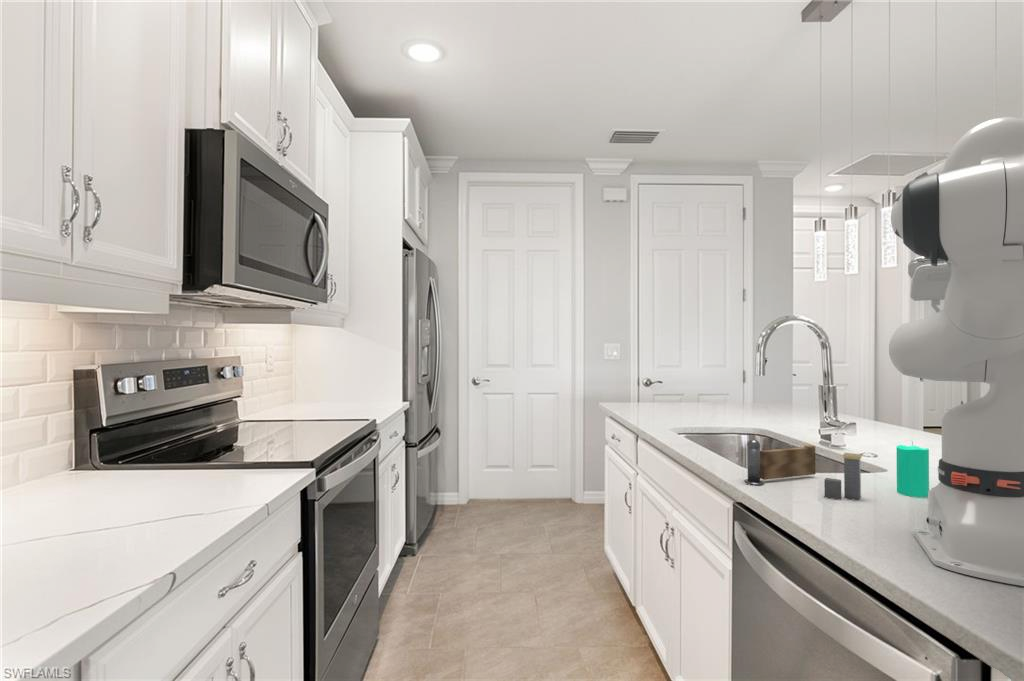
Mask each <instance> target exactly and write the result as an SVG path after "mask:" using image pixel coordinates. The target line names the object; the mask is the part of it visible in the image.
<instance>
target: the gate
mask: <svg viewBox="0 0 1024 681" xmlns="http://www.w3.org/2000/svg"><path fill="white" fill-rule="evenodd" d="M816 471H817V470H816V445H811V444H807V445H806V444H805V445H804V446H800V447H790V448H779V449H769V450H768V449H767V450H760V480H763V481H766V480H767V481H768V480H775V479H784V478H795V477H802V476H811V475H812V476H813V475H816V473H817V472H816Z"/></svg>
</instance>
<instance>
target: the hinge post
mask: <svg viewBox="0 0 1024 681" xmlns="http://www.w3.org/2000/svg"><path fill="white" fill-rule="evenodd" d="M746 448H747V449H746V450H747V454H746V456H747V458H746V459H747V479H744V480H743V483H744V482H745V483H747V484H746V485H748V484H750V485H749V486H754V485H755V486H758V487H760V486H763V485H765V483H764V480H763V481H762V480H761V478H760V451H761V443H760V442H759V440H758V439H755V438H751V439H749V440H748V441H747V443H746ZM745 483H744V484H745Z"/></svg>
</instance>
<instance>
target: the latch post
mask: <svg viewBox="0 0 1024 681" xmlns="http://www.w3.org/2000/svg"><path fill="white" fill-rule="evenodd" d="M842 458H843V461H844V462H843V464H844V466H843V467H844V468H843V470H844V474H843V475H844V476H843V477H844V478H843V479H844V486H843V487H844V489H843V490H844V492H843V493H844V499H845V498H847V500H852V499H853V501H858V500H860V501H861V499H862V498H861V496H862V495H861V493H862V490H861V488H862V487H861V486H862V485H861V483H862V482H861V481H862V478H861V477H862V476H861V474H862V473H861V470H862V469H861V466H862V465H861V459H862V454H861V453H851V452H844V453H843V455H842ZM823 480H824V482H823V483H824V487H823V488H824V498H825V497H827V498H826V499H831V498H834V499H833V500H837V499H841V500H842V479H839V478H831V477H825V478H824V479H823Z"/></svg>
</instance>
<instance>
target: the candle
mask: <svg viewBox="0 0 1024 681" xmlns="http://www.w3.org/2000/svg"><path fill="white" fill-rule="evenodd" d="M913 442H914V441H913V440H911V445H910V446H909V445H908V446H907V445H902V444H899V445H896V493H897V494H900V495H902V496H906V497H907V496H908V497H911V498H912V497H913V498H928V491H929V490H930V450H929V448H926V447H925V448H923V447H920V446H917V445H914V443H913Z"/></svg>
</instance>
